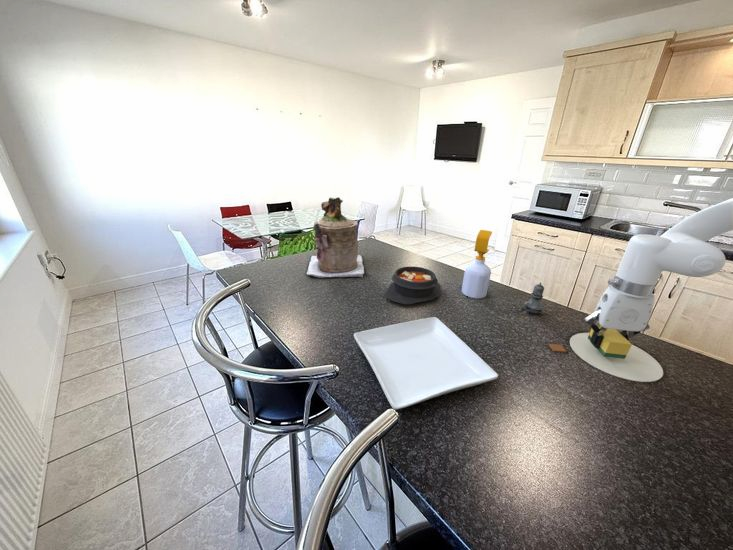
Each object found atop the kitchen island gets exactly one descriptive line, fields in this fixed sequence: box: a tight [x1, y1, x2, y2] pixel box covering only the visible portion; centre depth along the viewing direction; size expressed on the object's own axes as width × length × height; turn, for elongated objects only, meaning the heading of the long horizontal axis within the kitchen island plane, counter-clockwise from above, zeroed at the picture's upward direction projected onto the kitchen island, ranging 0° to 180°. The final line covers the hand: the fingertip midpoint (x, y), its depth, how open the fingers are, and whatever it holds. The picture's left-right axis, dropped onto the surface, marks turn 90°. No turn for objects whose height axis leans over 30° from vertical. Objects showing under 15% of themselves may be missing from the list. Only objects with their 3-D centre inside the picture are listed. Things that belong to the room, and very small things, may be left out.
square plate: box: [353, 316, 499, 410], centre depth 75 cm, size 27×27×4 cm
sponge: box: [588, 326, 633, 359], centre depth 78 cm, size 5×8×5 cm, turn 171°
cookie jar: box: [306, 196, 365, 279], centre depth 127 cm, size 25×25×32 cm
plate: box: [569, 332, 664, 383], centre depth 79 cm, size 20×20×1 cm
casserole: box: [384, 265, 441, 305], centre depth 110 cm, size 25×19×8 cm
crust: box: [547, 343, 568, 353], centre depth 81 cm, size 4×3×2 cm
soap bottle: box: [461, 229, 493, 300], centre depth 108 cm, size 9×9×25 cm
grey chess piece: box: [522, 282, 545, 315], centre depth 97 cm, size 6×6×12 cm
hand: (606, 346), depth 79 cm, fingers closed on sponge, 5 cm apart
